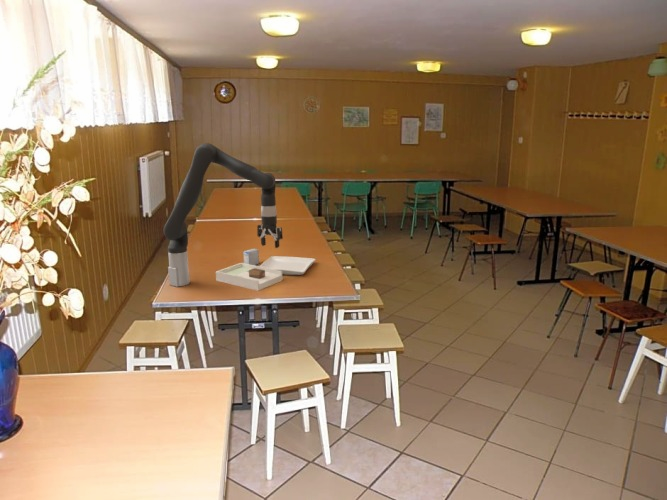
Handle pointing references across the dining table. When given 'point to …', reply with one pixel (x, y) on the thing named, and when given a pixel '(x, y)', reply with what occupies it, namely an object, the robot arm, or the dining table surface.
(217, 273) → the box
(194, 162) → the robot arm
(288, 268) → the square plate
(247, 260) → the medicine box
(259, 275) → the walnut block
